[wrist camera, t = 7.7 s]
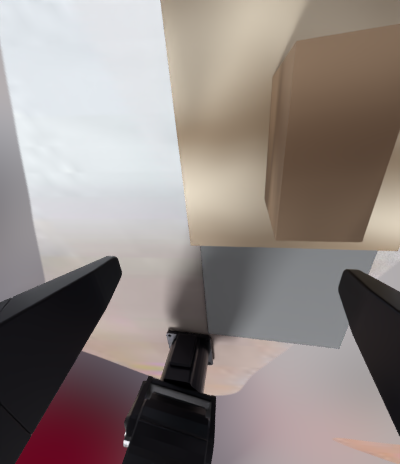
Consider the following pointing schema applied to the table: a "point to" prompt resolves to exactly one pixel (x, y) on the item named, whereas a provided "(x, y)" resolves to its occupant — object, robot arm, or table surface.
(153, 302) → the table surface
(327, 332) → the mat
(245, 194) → the cover board
